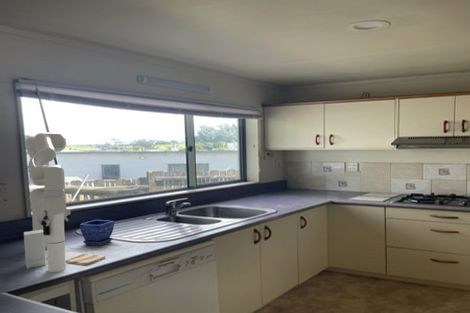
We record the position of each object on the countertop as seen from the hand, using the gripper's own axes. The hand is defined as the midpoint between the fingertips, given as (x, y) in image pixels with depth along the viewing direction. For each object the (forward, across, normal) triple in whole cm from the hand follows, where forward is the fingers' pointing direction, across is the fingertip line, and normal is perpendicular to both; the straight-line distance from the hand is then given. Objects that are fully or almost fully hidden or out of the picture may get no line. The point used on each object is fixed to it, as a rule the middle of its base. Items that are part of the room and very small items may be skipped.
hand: (55, 232), depth 180 cm
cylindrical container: (+17, 0, -1) cm, 17 cm away
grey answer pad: (+16, -15, -11) cm, 25 cm away
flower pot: (+16, -42, -15) cm, 48 cm away
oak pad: (+16, -15, +2) cm, 23 cm away
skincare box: (+17, -2, -15) cm, 23 cm away
